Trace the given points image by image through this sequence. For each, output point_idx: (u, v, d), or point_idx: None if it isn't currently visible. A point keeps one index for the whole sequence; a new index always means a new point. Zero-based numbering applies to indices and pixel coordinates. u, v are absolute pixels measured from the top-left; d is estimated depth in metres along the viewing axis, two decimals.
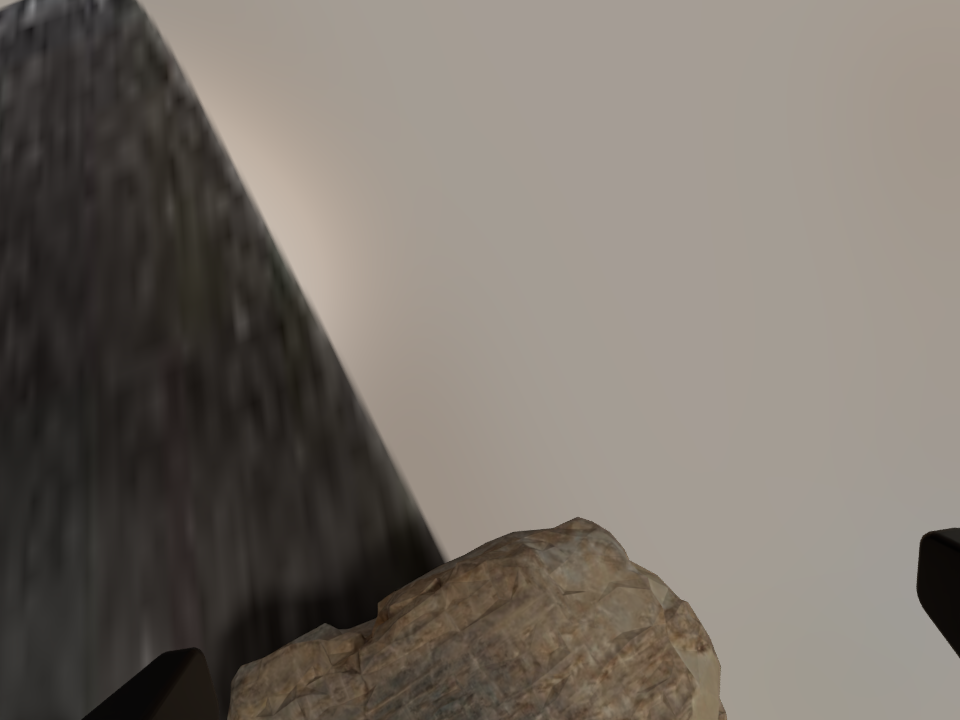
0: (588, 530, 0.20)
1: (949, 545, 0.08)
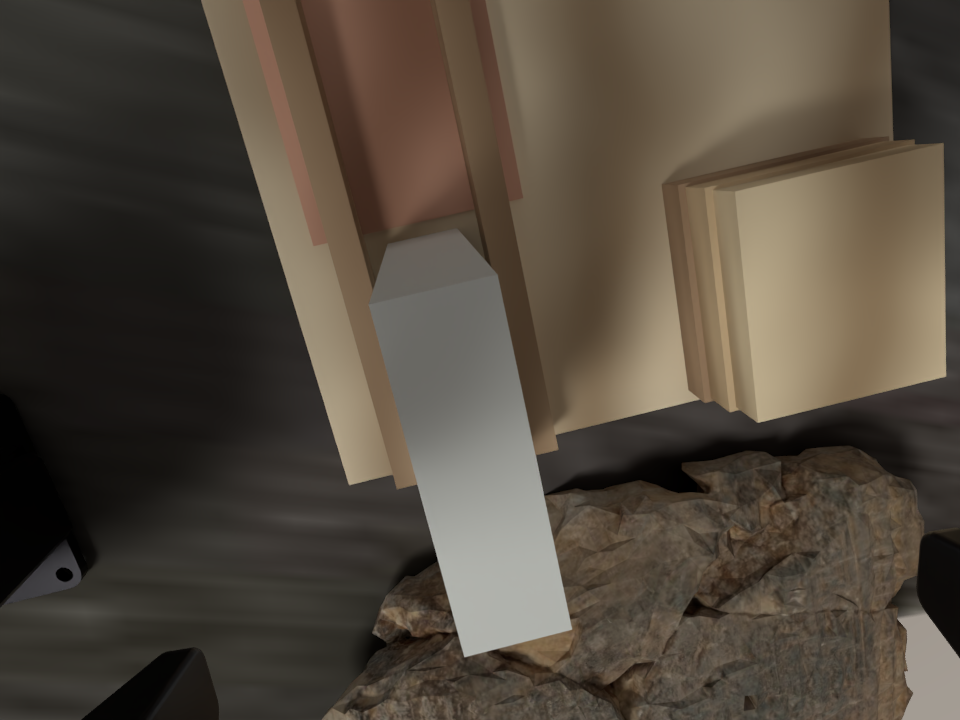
0: None
1: (949, 545, 0.08)
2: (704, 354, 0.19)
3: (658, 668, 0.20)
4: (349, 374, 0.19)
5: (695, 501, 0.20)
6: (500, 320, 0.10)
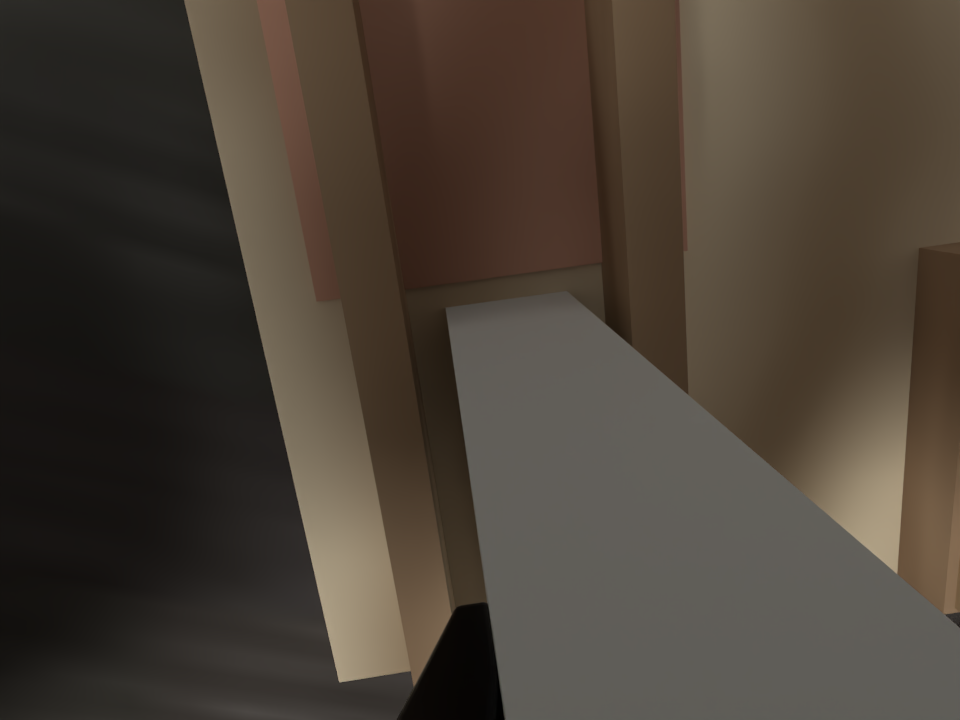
0: None
1: None
2: None
3: None
4: (357, 514, 0.12)
5: None
6: None
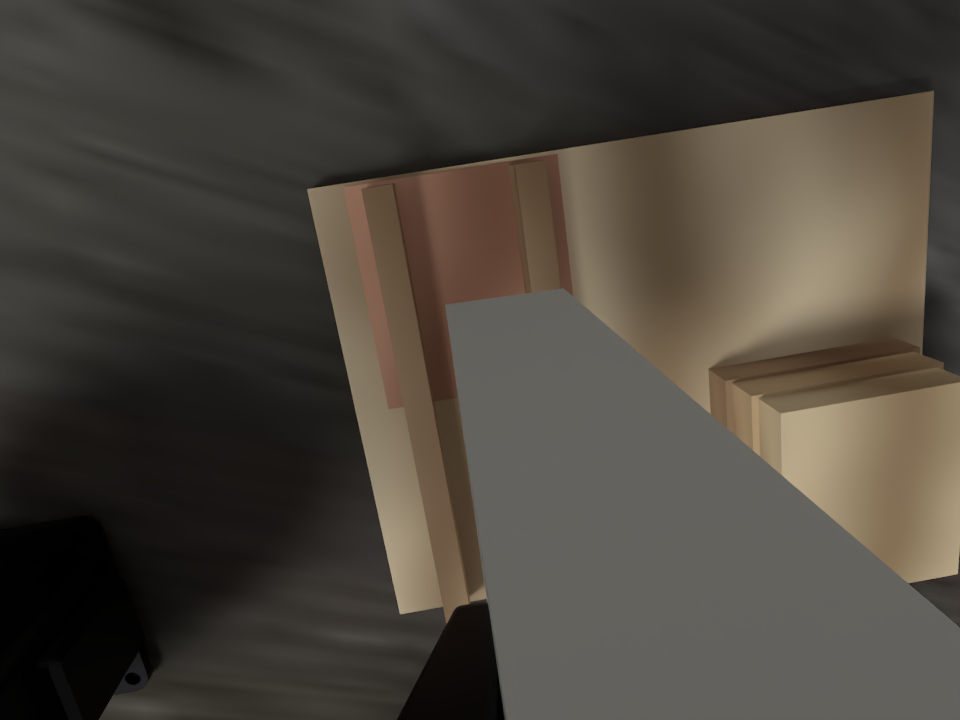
0: None
1: None
2: None
3: None
4: (410, 518, 0.21)
5: None
6: None
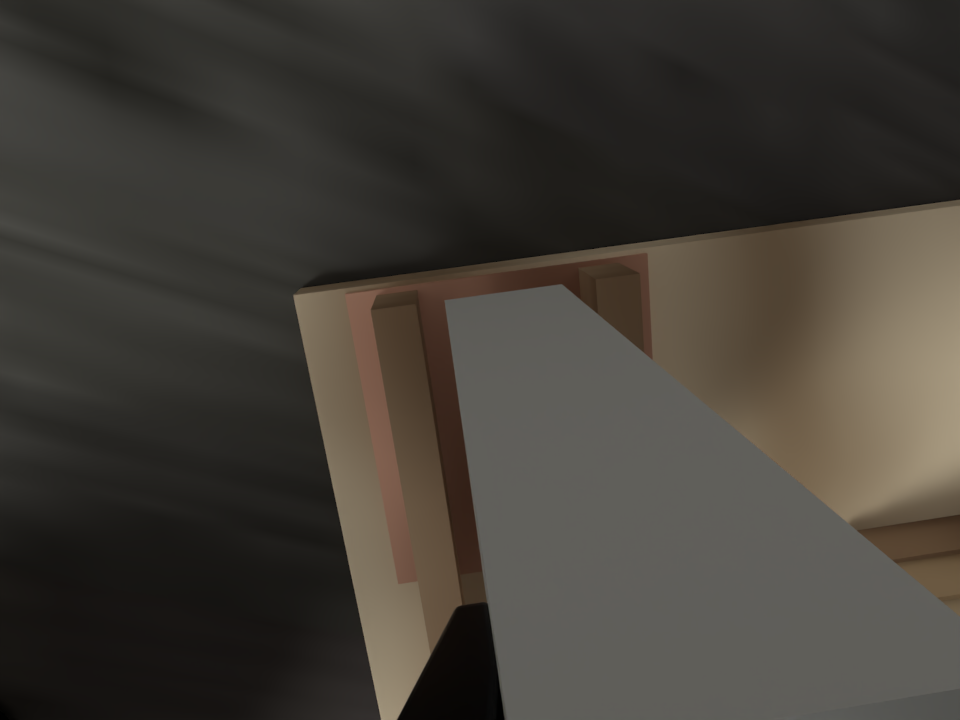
0: None
1: None
2: None
3: None
4: None
5: None
6: None
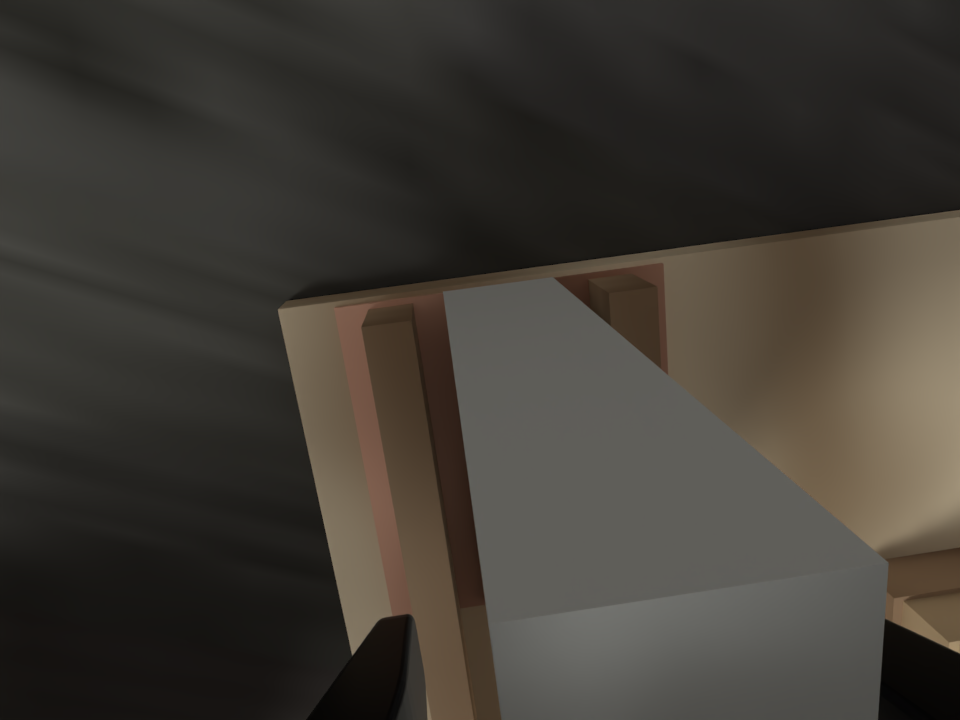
0: None
1: None
2: None
3: None
4: None
5: None
6: (862, 682, 0.03)
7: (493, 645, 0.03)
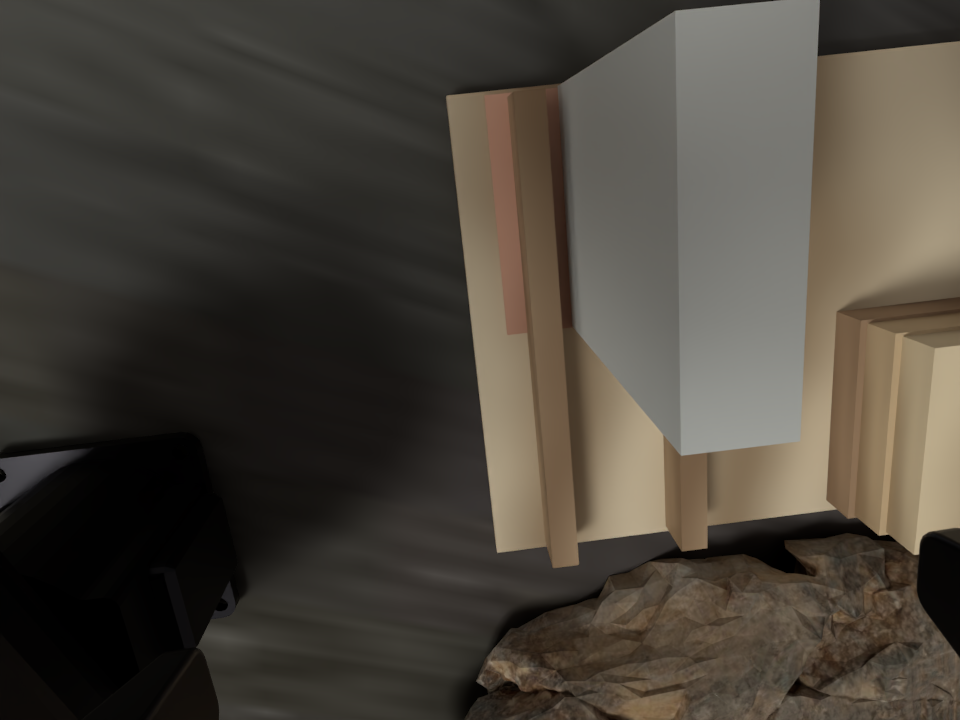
0: None
1: (949, 545, 0.08)
2: (856, 475, 0.20)
3: None
4: (517, 452, 0.21)
5: (803, 584, 0.21)
6: (810, 54, 0.09)
7: (676, 19, 0.09)
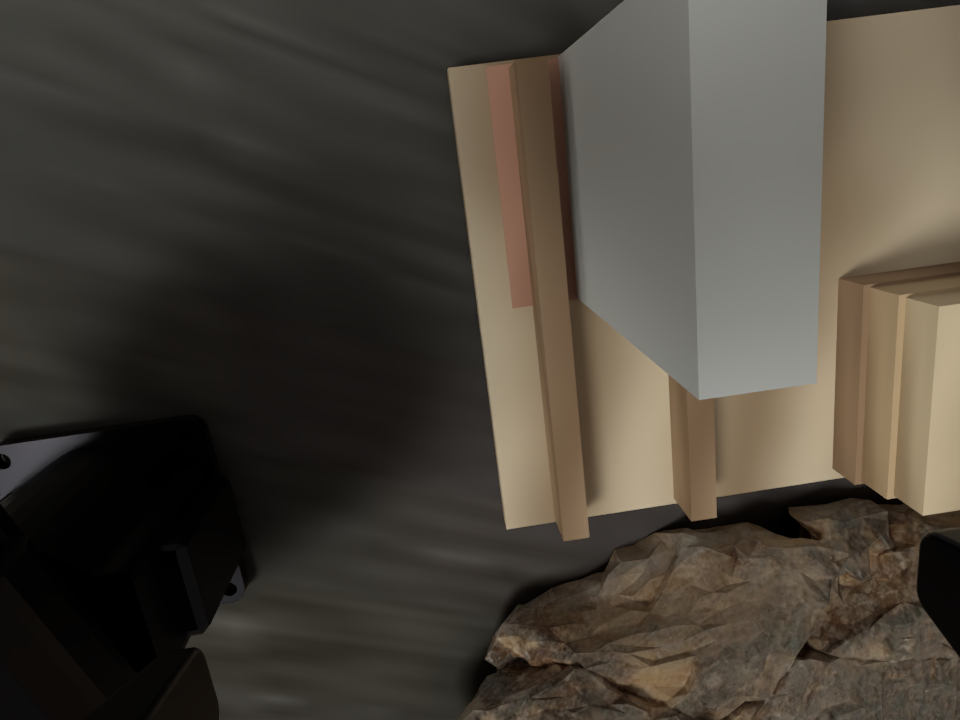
0: None
1: (949, 545, 0.08)
2: (862, 440, 0.20)
3: (768, 708, 0.21)
4: (524, 427, 0.21)
5: (808, 548, 0.21)
6: None
7: None
